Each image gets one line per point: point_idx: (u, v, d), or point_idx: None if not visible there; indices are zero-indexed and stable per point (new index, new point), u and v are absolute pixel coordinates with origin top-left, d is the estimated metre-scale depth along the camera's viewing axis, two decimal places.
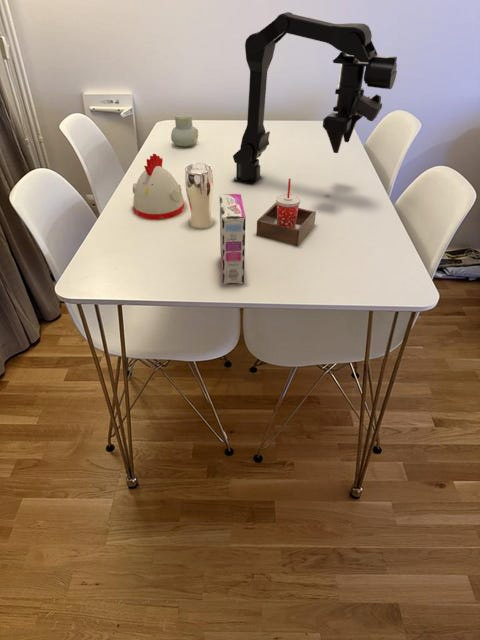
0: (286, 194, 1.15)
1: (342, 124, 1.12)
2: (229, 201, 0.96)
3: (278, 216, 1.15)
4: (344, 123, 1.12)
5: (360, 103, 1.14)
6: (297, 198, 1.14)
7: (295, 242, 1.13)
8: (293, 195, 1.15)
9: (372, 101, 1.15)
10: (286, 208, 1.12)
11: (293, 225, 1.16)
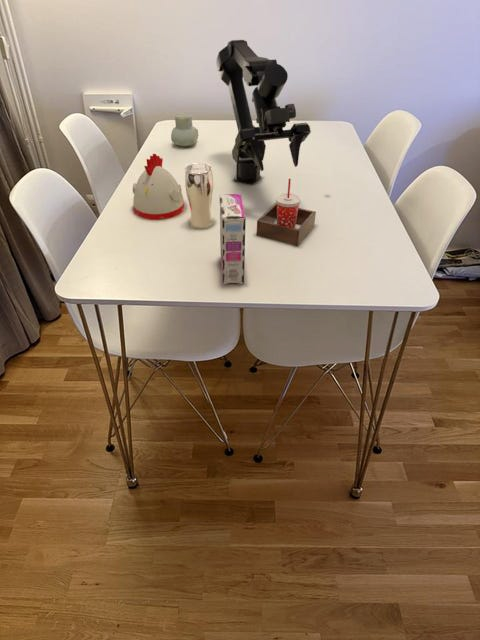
0: (286, 194, 1.15)
1: (239, 134, 1.13)
2: (229, 201, 0.96)
3: (278, 216, 1.15)
4: (239, 132, 1.12)
5: (265, 114, 1.13)
6: (297, 198, 1.14)
7: (295, 242, 1.13)
8: (293, 195, 1.15)
9: None
10: (286, 208, 1.12)
11: (293, 225, 1.16)
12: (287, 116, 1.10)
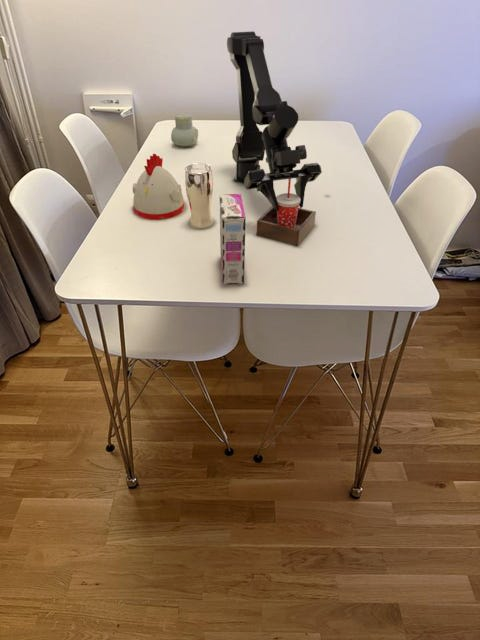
0: (286, 194, 1.15)
1: (248, 175, 1.10)
2: (229, 201, 0.96)
3: (278, 216, 1.15)
4: (249, 174, 1.10)
5: (275, 155, 1.10)
6: (297, 198, 1.14)
7: (295, 242, 1.13)
8: (293, 195, 1.15)
9: None
10: (286, 208, 1.12)
11: (293, 225, 1.16)
12: (298, 158, 1.07)
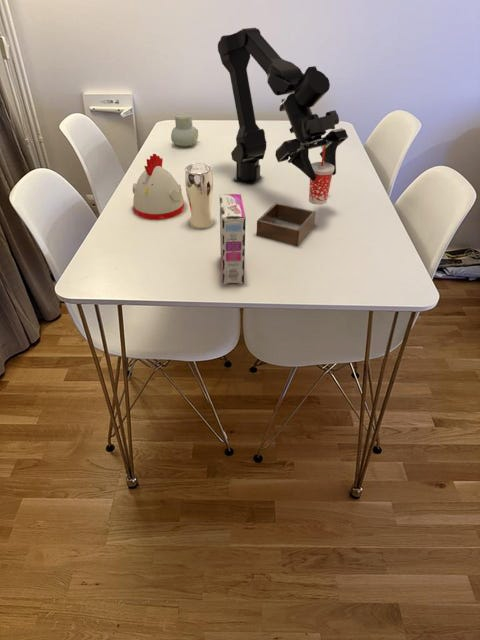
0: (317, 163, 1.14)
1: (284, 146, 1.07)
2: (229, 201, 0.96)
3: (313, 186, 1.14)
4: (285, 144, 1.07)
5: (306, 124, 1.08)
6: (330, 165, 1.13)
7: (295, 242, 1.13)
8: (324, 163, 1.14)
9: None
10: (323, 177, 1.11)
11: (327, 193, 1.16)
12: (333, 123, 1.06)
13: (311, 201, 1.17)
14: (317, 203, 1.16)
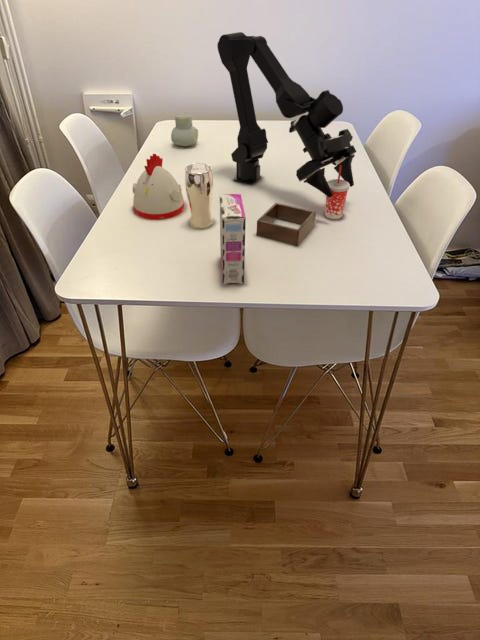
0: (331, 181, 1.22)
1: (307, 167, 1.13)
2: (229, 201, 0.96)
3: (332, 203, 1.21)
4: (308, 165, 1.13)
5: (323, 143, 1.15)
6: (344, 182, 1.21)
7: (295, 242, 1.13)
8: (338, 180, 1.22)
9: (337, 136, 1.15)
10: (341, 193, 1.19)
11: (343, 208, 1.24)
12: (349, 141, 1.14)
13: (329, 216, 1.24)
14: (335, 218, 1.24)
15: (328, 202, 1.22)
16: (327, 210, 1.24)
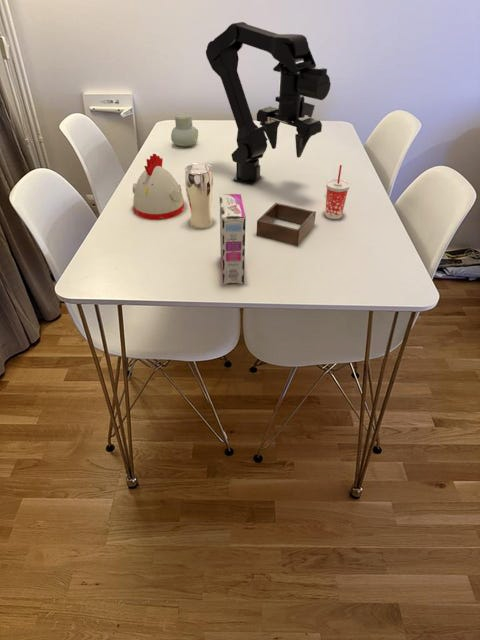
0: (331, 181, 1.22)
1: (320, 126, 1.19)
2: (229, 201, 0.96)
3: (332, 203, 1.21)
4: (321, 124, 1.19)
5: (305, 105, 1.22)
6: (344, 182, 1.21)
7: (295, 242, 1.13)
8: (338, 180, 1.22)
9: None
10: (341, 193, 1.19)
11: (343, 208, 1.24)
12: None
13: (329, 216, 1.24)
14: (335, 218, 1.24)
15: (328, 202, 1.22)
16: (327, 210, 1.24)
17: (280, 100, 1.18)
